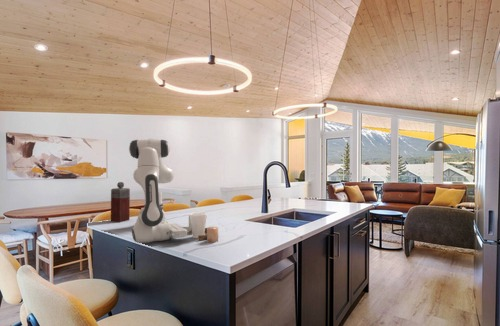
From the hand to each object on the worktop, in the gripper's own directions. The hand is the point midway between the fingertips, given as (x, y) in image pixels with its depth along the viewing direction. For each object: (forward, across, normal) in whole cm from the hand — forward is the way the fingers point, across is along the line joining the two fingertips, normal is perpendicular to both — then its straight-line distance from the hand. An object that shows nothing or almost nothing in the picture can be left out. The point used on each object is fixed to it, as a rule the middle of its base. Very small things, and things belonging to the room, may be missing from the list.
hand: (190, 228), depth 155 cm
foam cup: (+5, -1, +5) cm, 7 cm away
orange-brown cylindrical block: (+8, -12, +5) cm, 16 cm away
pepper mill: (-29, +73, +5) cm, 78 cm away
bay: (+8, 0, +5) cm, 9 cm away
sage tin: (+7, +12, +5) cm, 15 cm away
